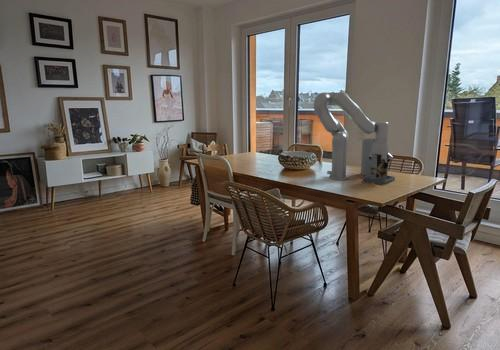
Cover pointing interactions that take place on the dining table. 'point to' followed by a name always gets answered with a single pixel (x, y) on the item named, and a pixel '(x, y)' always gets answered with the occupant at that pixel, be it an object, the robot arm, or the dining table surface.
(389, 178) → the tray
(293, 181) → the dining table surface
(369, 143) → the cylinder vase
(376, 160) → the coffee box
